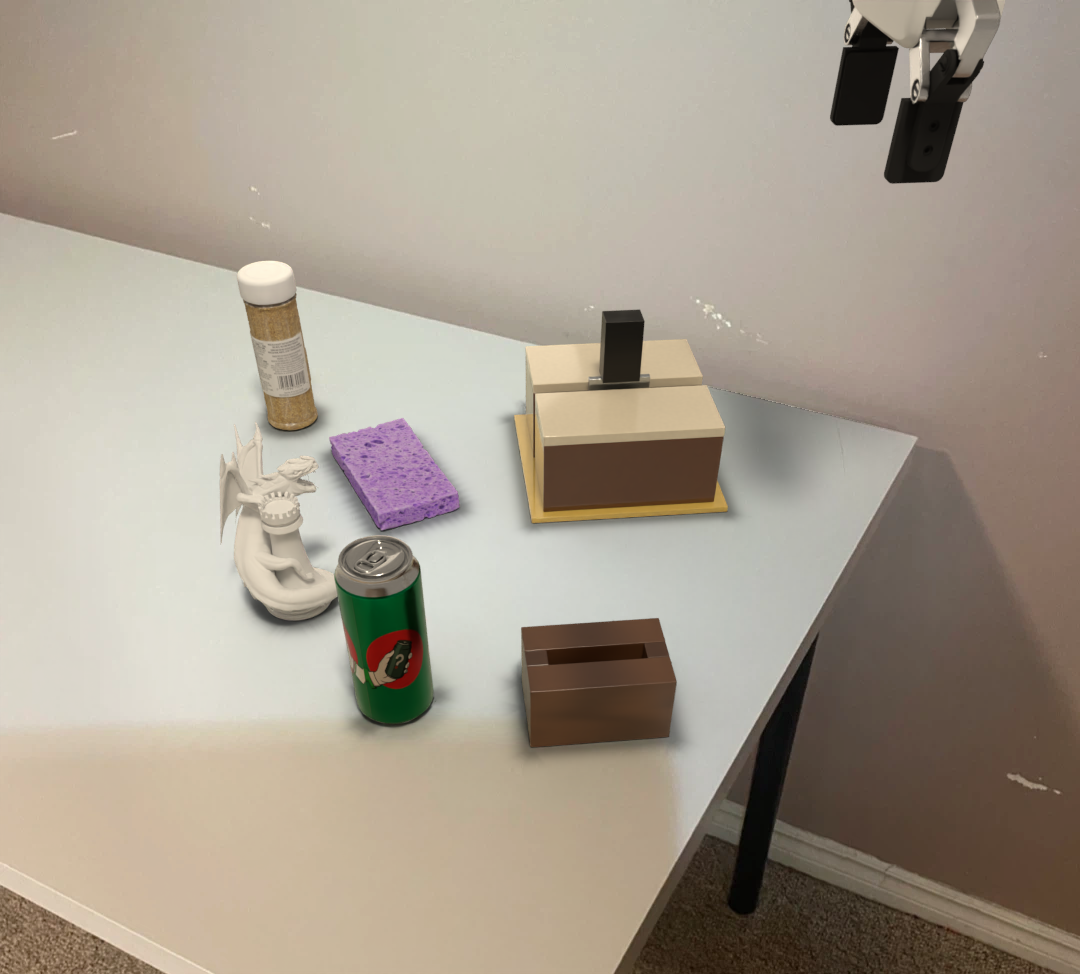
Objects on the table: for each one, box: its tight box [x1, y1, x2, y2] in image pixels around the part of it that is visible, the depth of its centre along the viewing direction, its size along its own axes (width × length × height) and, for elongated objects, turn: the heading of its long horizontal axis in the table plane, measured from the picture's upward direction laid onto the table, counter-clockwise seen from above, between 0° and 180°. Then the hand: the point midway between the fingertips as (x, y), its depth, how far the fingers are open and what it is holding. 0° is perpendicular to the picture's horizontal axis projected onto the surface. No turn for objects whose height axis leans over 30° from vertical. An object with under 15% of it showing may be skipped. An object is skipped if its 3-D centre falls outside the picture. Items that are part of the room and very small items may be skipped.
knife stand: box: [520, 617, 678, 748], centre depth 65 cm, size 9×6×5 cm, turn 96°
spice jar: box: [236, 260, 318, 431], centre depth 87 cm, size 5×5×13 cm
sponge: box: [328, 417, 461, 531], centre depth 85 cm, size 7×13×2 cm, turn 26°
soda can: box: [333, 534, 434, 725], centre depth 63 cm, size 5×5×12 cm
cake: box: [513, 338, 729, 524], centre depth 85 cm, size 16×16×7 cm
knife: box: [588, 308, 650, 391], centre depth 83 cm, size 5×2×12 cm, turn 96°
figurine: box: [219, 421, 338, 622], centre depth 72 cm, size 11×8×12 cm
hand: (882, 150), depth 59 cm, fingers open, 9 cm apart
